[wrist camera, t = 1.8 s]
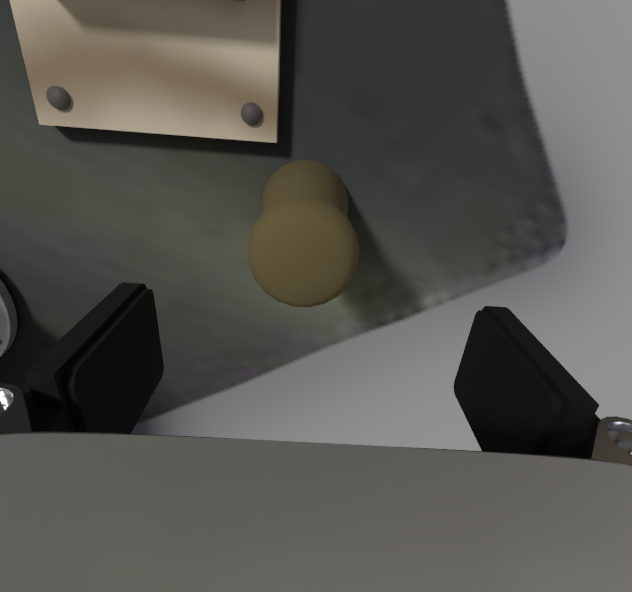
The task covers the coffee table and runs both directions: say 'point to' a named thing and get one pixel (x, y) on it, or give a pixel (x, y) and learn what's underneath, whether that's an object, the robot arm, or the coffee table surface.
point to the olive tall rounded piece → (304, 236)
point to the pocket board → (155, 65)
